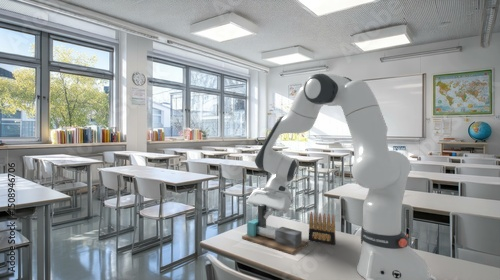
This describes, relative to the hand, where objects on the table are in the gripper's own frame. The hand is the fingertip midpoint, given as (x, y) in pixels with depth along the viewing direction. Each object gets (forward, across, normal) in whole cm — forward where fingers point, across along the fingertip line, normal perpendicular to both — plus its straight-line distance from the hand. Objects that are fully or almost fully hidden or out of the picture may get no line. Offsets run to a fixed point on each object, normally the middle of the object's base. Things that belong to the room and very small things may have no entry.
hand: (260, 217), depth 123 cm
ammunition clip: (-2, +22, +15) cm, 27 cm away
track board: (+6, +7, +7) cm, 11 cm away
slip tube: (+5, +3, +6) cm, 8 cm away
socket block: (+6, -3, +7) cm, 9 cm away
